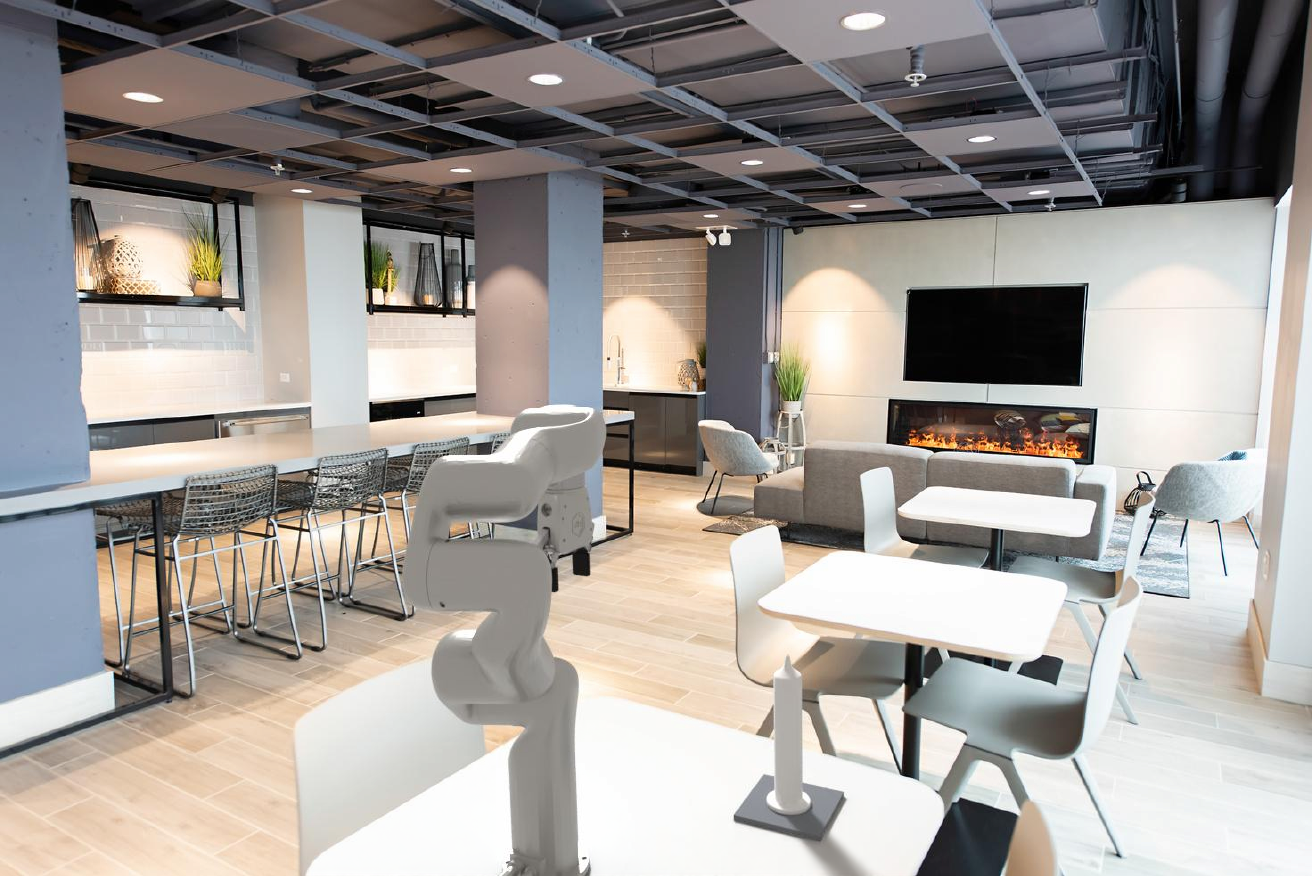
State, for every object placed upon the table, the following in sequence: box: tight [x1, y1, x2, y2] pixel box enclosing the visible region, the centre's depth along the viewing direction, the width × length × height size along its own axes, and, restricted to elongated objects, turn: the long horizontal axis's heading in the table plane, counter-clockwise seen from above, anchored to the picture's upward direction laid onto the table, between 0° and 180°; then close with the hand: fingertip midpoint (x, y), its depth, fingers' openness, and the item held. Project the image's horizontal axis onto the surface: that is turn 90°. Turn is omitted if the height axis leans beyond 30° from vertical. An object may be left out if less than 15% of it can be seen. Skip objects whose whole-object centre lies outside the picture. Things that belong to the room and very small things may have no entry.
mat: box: [733, 773, 845, 842], centre depth 138 cm, size 14×14×1 cm
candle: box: [767, 654, 811, 815], centre depth 137 cm, size 7×7×25 cm
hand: (566, 582), depth 141 cm, fingers open, 9 cm apart
